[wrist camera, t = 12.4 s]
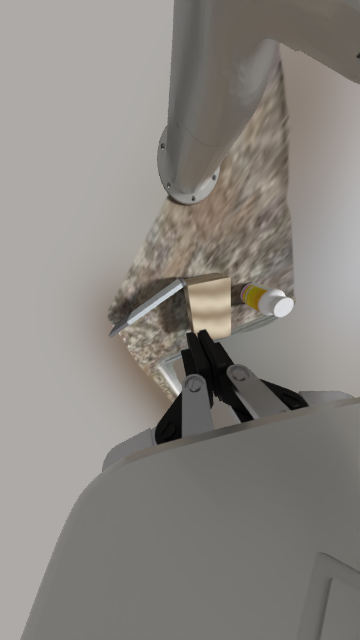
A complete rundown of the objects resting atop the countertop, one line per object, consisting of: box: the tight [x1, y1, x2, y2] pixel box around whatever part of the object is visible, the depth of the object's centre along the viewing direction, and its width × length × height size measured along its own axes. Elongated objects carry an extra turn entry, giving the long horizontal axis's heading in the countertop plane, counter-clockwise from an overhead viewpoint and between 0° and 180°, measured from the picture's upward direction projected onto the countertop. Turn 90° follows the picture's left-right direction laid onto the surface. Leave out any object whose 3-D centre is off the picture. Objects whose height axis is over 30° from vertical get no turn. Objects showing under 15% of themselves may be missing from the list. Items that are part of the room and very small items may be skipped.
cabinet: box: [184, 273, 231, 340], centre depth 38 cm, size 16×10×8 cm, turn 10°
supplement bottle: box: [241, 283, 293, 317], centre depth 36 cm, size 7×7×13 cm
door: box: [109, 277, 186, 337], centre depth 35 cm, size 23×1×6 cm, turn 124°
